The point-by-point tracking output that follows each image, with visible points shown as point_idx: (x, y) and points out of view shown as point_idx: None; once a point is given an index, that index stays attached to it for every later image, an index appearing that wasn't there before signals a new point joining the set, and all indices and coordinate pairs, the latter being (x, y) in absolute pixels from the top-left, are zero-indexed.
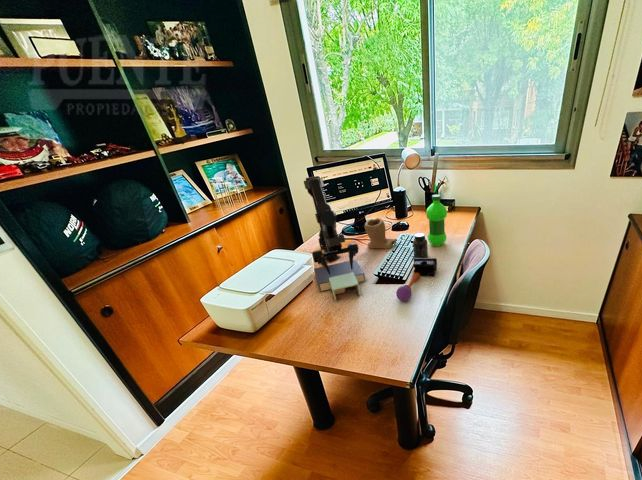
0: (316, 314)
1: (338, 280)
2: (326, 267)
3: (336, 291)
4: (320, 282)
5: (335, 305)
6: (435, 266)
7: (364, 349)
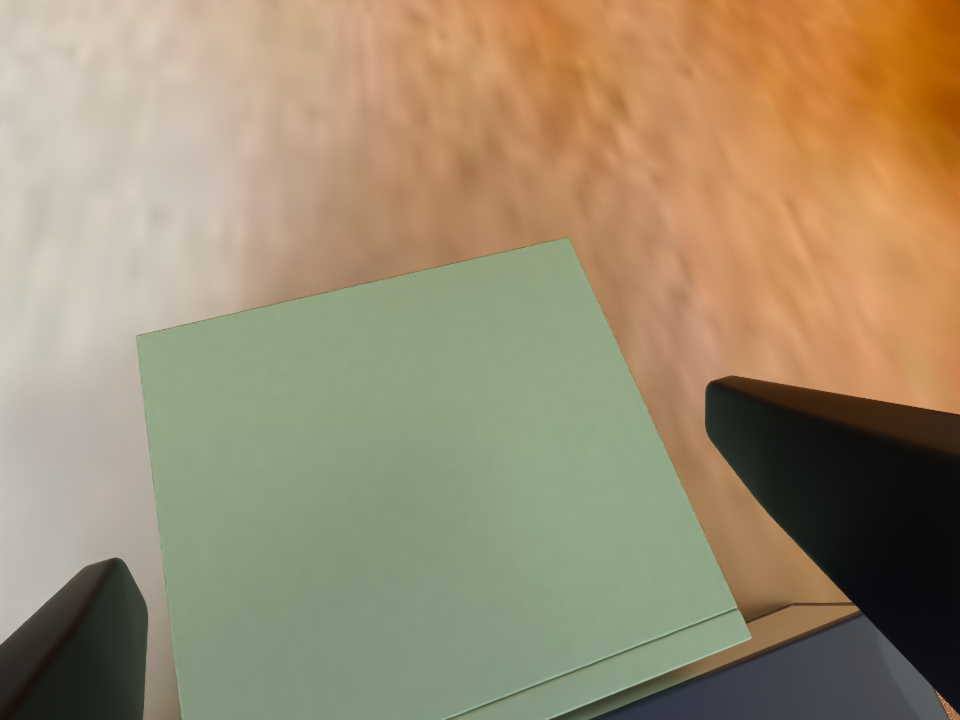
0: (681, 142)
1: (524, 498)
2: (910, 412)
3: None
4: (877, 653)
5: None
6: None
7: None
